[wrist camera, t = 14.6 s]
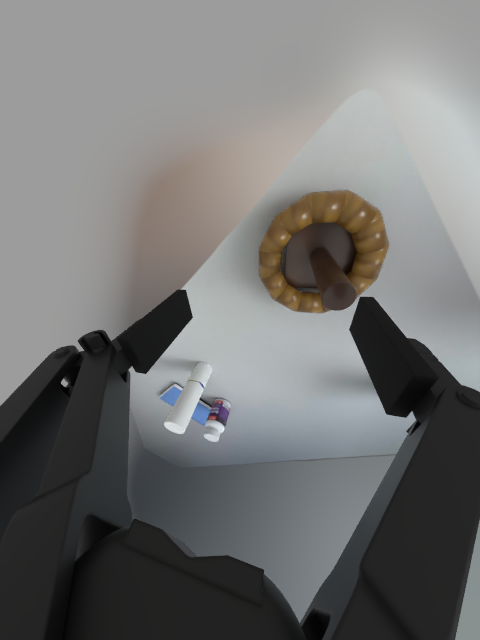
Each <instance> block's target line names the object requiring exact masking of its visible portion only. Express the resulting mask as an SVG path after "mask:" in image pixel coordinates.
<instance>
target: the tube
mask: <svg viewBox="0 0 480 640" xmlns="http://www.w3.org/2000/svg"><path fill="white" fill-rule="evenodd" d="M211 372H212V367H211V366H210V365H209V364H207V363H205V362H199V363H197V365H196V367H195V369H194V370H193V372H192V374H191V376H190V378H189V379H188V381H187V383H186V385H185V386H184V388H183V390H182V392H181V394H180V395H179V397H178V399H177V401H176V403H175V404H174V406H173V408H172V410H171V411H170V413H169V415H168V417H167V419H166V420H165V422H164V426H165V427H166V428H167V429H168V430H170V431H172V432H174V433H178V434H183V433H184V432H185V430H186V428H187V426H188V423H189V421H190V419H191V417H192V414H193V412H194V410H195V408H196V406H197V403H198V401H199V399H200V397H201V394H202V392H203V390H204V388H205V386H206V383H207V381H208V379H209V377H210V375H211Z"/></svg>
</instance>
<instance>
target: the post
mask: <svg viewBox="0 0 480 640" xmlns="http://www.w3.org/2000/svg"><path fill="white" fill-rule="evenodd" d="M356 252H357V250H356V247H355V244H354V241H353V238H352V235H351V233H350V232H348V231H347V230H345V229H343V228H342V227H340V226H339V225H337V224H336V223H334V222H333V223H312V224H310V225H308V226H307V227H305V228H303V229H302V230H300V231H298V232H297V233H295V234H293V235H292V236H291V238H290V240H289V241H288V243H287V248H286V262H285V276H284V278H285V280H286V282H287V284H289V285H290V286H292V287H294V288H318V290H319V294H320V297H321V300H322V303H323V305H324V306H325V307H326V308H328V309H330V310H343V309H345V308H347V307H349V306H350V305H352V304H353V302H354V301H355V299H356V296H357V292H356V289H355V287H354V286H353V285H352V283H351V282H350V280H349V279H348V278H347V276H346V275H347V274H348V273H349V272H350V271H351V269H352V266H353V262H354V259H355V255H356Z"/></svg>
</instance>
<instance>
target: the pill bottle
mask: <svg viewBox="0 0 480 640" xmlns="http://www.w3.org/2000/svg"><path fill="white" fill-rule="evenodd" d="M230 408H231V405H230V403H229V402H228V401H226V400H224V399H220V398H218V399H215V400H214V402H213V405H212V408H211V410H210V413H209V415H208V418H207V421H206V424H205V426H206V428H207V429H206V431H205V433H204V437H205V438H206V439H207V440H209V441H212V442H217V441H218V440H219V437H220V433H222V432H223V431H224V429H225V426H226V422H227V419H228V415H229V412H230Z"/></svg>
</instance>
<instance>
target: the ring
mask: <svg viewBox="0 0 480 640" xmlns="http://www.w3.org/2000/svg"><path fill="white" fill-rule="evenodd" d="M333 222H334V223H336V224H337V225H339V226H340V227H342V228H343V229H345V230H347V231H348V232H350V233H351V235H352V238H353V241H354V244H355V247H356V250H357V252H356V255H355V259H354V262H353V266H352V269H351V271H350V272H349V273H348V274H347V275H346V276H347V278H348V279H349V280H350V282H351V283H352V285H353V286H354V287H355V289H356V292H357V296H356V298H357V297H358V296H359V295H360V294H362V293H363V292H364V291H365V290H366V289H367V288H368V287H369V286H370V285H371V284H372V283H373V282H375V280H376V279H377V277H378V275H379V272H380V269H381V267H382V264H383V261H384V259H385V256H386V254H387V251H388V248H389V242H388V238H387V234H386V230H385V226H384V222H383V218H382V214H381V212H380V210H379V209H377V208H376V207H375V206H373V205H372V204H370V203H368V202H367V201H365V200H364V199H362V198H361V197H359V196H358V195H356V194H355V193H353V192H351V191H349V190H338V191H325V192H313V193H308V194H306V195H304V196H303V197H301V198H300V199H299V200H297V201H296V202H294V203H293V204H291V205H290V206H288V207H287V208H286V209H284V210H283V211H281V212H280V213H278V214H277V215H276V216H275V217H274V219H273V221H272V223H271V224H270V226H269V228H268V230H267V232H266V234H265V236H264V238H263V239H262V241H261V243H260V246H259V277H260V279H261V281H262V282H263V284H264V286H265V288H266V289H267V291H268V293H269V294H270V296H271V298H272V299H274V300H275V301H277V302H279V303H280V304H282V305H284V306H286V307H287V308H289V309H291V310H293V311H296V312H309V313H324V312H327V311H330V309H328V308H326V307H325V306H324V305H323V303H322V300H321V297H320V294H319V293H316V292H301V291H299V290H297V289H295V288H294V287H292V286H290V285H289V284H287V282H286V280H285V278H284V276H283V274H282V272H281V271H280V265H281V252H282V251H283V249H284V247H285V246H286V244H287V243H288V241H289V240H290V238H291V236H292V235H293V234H295V233H297V232H298V231H300V230H302V229H303V228H305V227H307V226H308V225H310V224H312V223H333Z"/></svg>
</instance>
